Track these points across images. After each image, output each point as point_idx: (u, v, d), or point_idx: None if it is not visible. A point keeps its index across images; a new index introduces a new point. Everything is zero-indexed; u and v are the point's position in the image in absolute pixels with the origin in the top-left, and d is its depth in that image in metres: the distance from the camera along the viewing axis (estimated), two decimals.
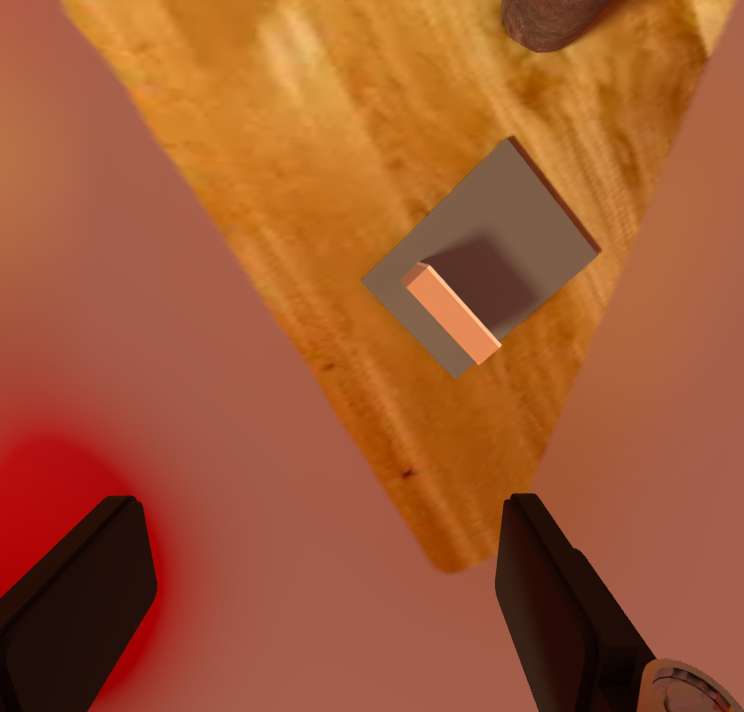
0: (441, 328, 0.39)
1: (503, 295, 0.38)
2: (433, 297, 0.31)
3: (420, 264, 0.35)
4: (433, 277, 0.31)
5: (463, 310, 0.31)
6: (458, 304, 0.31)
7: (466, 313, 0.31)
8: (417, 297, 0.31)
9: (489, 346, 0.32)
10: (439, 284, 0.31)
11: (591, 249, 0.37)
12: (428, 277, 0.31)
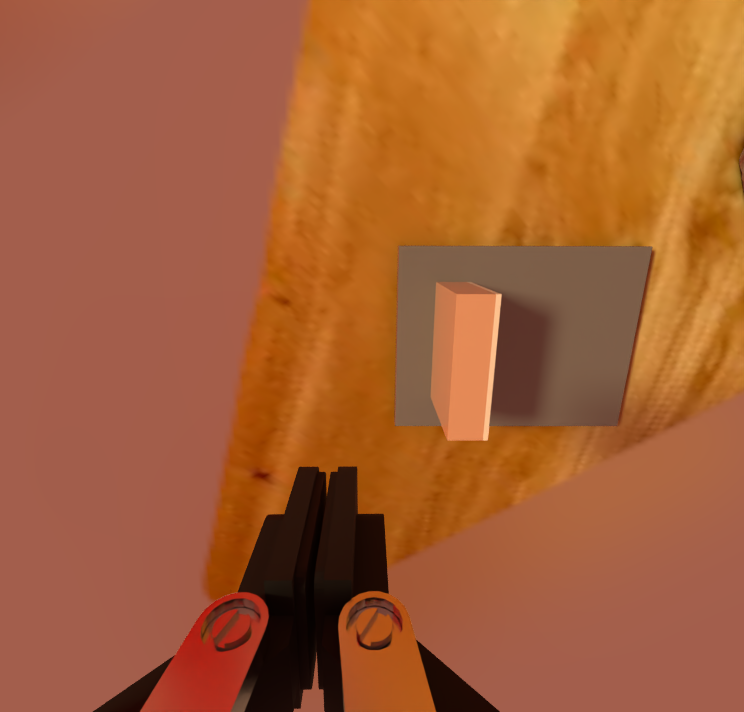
0: (429, 366, 0.30)
1: (511, 387, 0.31)
2: (472, 331, 0.22)
3: (477, 285, 0.26)
4: (492, 310, 0.22)
5: (487, 372, 0.23)
6: (488, 361, 0.23)
7: (486, 377, 0.23)
8: (457, 315, 0.22)
9: (475, 430, 0.24)
10: (491, 323, 0.22)
11: (617, 415, 0.31)
12: (487, 305, 0.22)
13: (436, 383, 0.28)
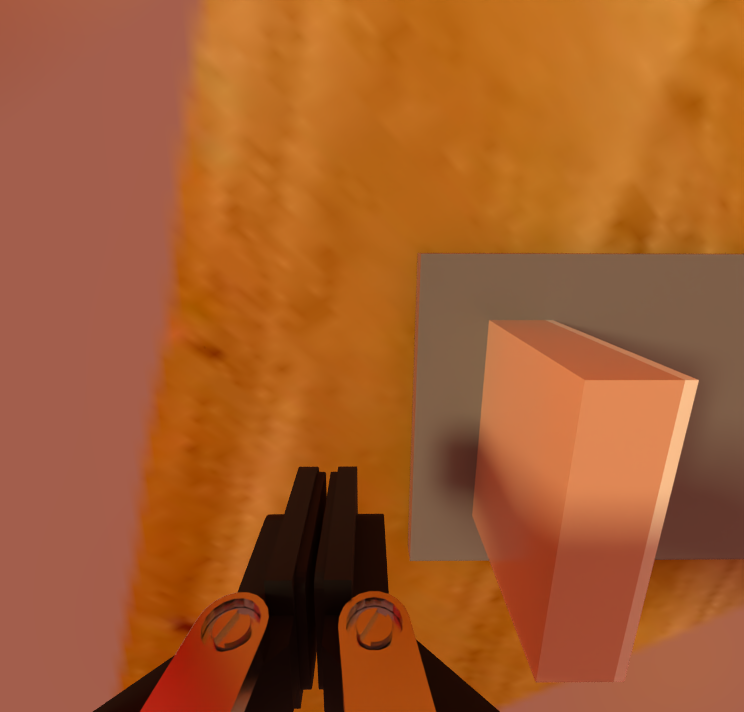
0: (471, 465, 0.17)
1: None
2: (615, 466, 0.09)
3: (583, 335, 0.13)
4: (670, 418, 0.09)
5: (640, 552, 0.10)
6: (645, 529, 0.10)
7: (637, 563, 0.10)
8: (581, 430, 0.09)
9: (599, 665, 0.11)
10: (663, 447, 0.09)
11: None
12: (660, 407, 0.09)
13: (491, 511, 0.15)
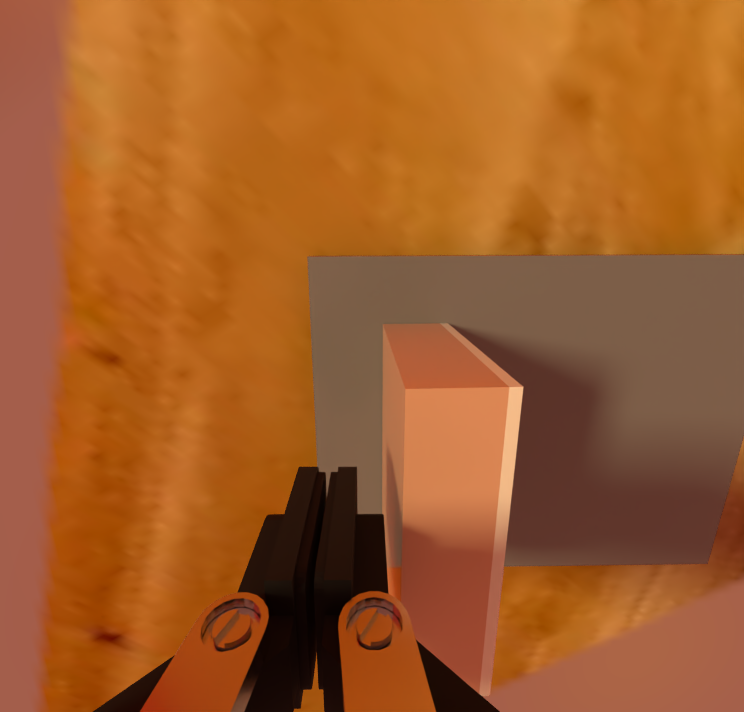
0: (377, 471, 0.17)
1: (525, 505, 0.17)
2: (449, 476, 0.09)
3: (460, 339, 0.12)
4: (500, 426, 0.08)
5: (487, 564, 0.09)
6: (490, 541, 0.09)
7: (486, 575, 0.10)
8: (409, 440, 0.08)
9: None
10: (496, 457, 0.09)
11: (708, 548, 0.18)
12: (488, 415, 0.08)
13: (386, 520, 0.15)
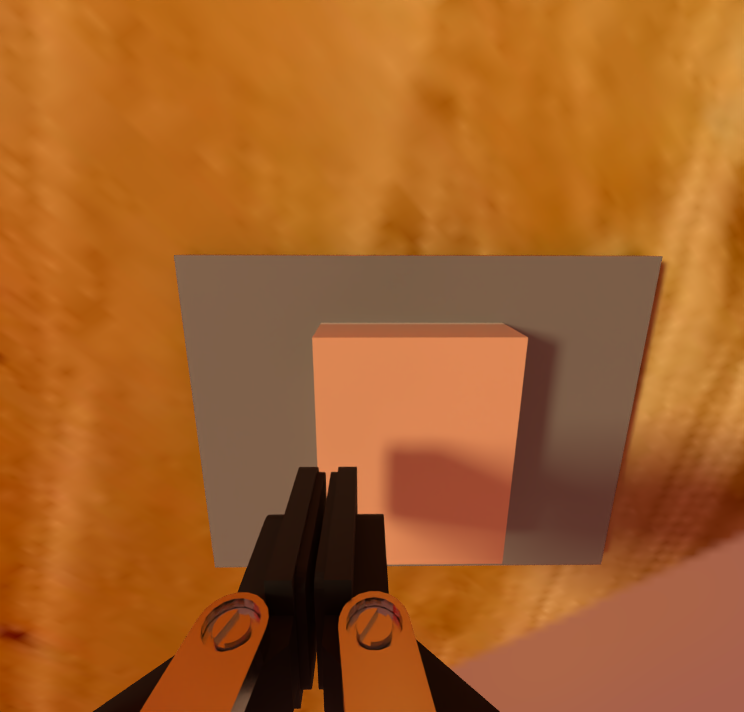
0: (261, 470, 0.17)
1: None
2: None
3: (390, 323, 0.15)
4: None
5: None
6: None
7: None
8: (522, 371, 0.13)
9: None
10: None
11: (600, 548, 0.18)
12: None
13: None
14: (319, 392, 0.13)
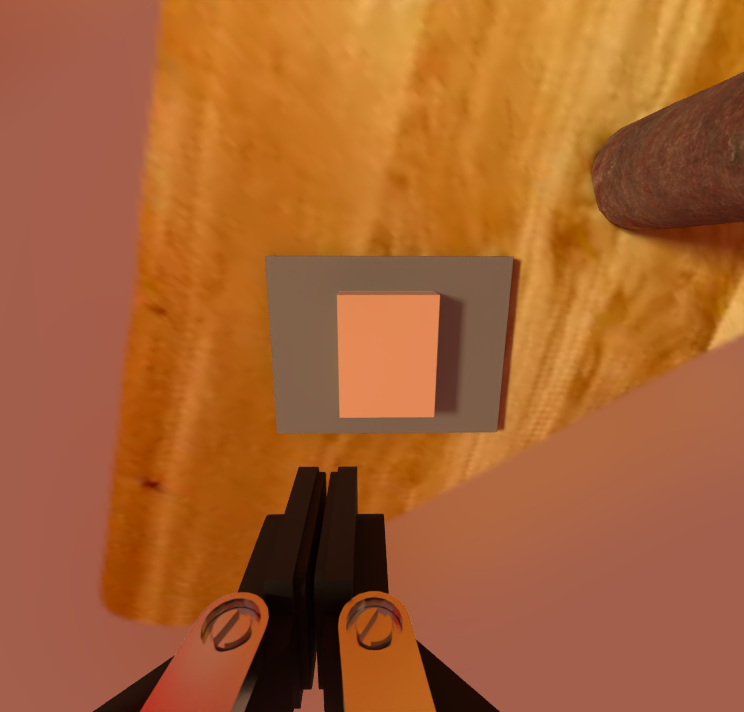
0: (305, 374, 0.30)
1: None
2: None
3: (375, 291, 0.29)
4: None
5: None
6: None
7: None
8: (438, 312, 0.27)
9: None
10: None
11: (495, 422, 0.32)
12: None
13: (371, 392, 0.28)
14: (340, 322, 0.27)
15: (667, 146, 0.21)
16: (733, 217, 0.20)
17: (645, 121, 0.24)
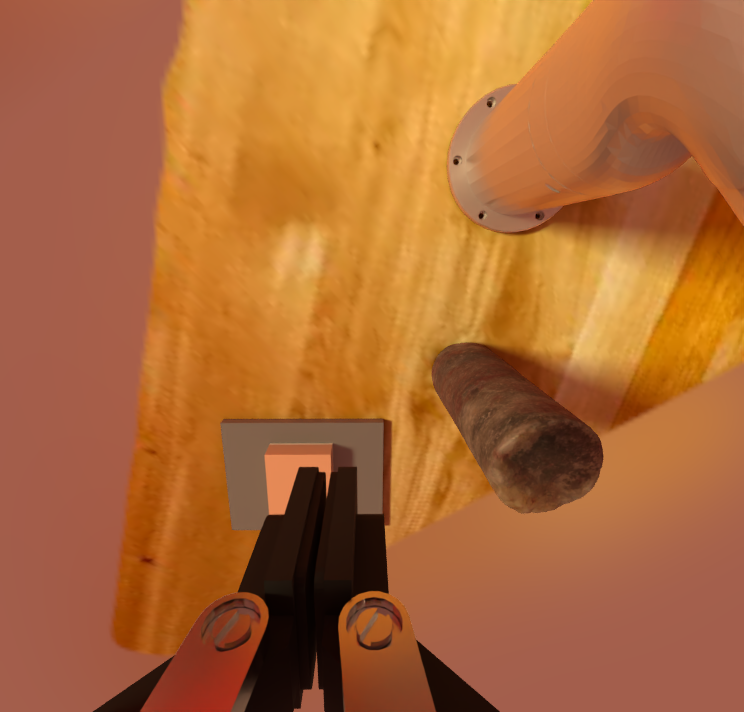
0: (250, 493, 0.45)
1: None
2: (331, 466, 0.43)
3: (293, 444, 0.44)
4: (332, 452, 0.44)
5: None
6: None
7: None
8: (330, 464, 0.42)
9: None
10: (332, 458, 0.44)
11: None
12: (332, 451, 0.43)
13: None
14: (267, 470, 0.42)
15: (446, 393, 0.36)
16: None
17: (449, 360, 0.39)
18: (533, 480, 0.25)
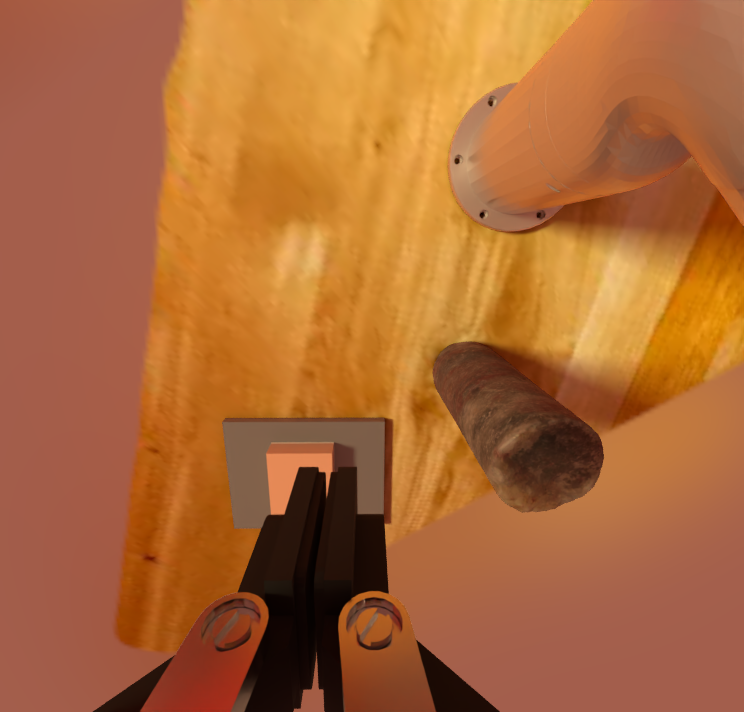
0: (251, 491, 0.46)
1: None
2: (333, 465, 0.43)
3: (295, 443, 0.44)
4: (333, 451, 0.44)
5: None
6: None
7: None
8: (332, 462, 0.42)
9: None
10: None
11: None
12: (333, 450, 0.43)
13: None
14: (269, 469, 0.42)
15: (447, 393, 0.36)
16: None
17: (450, 359, 0.39)
18: (533, 479, 0.25)
